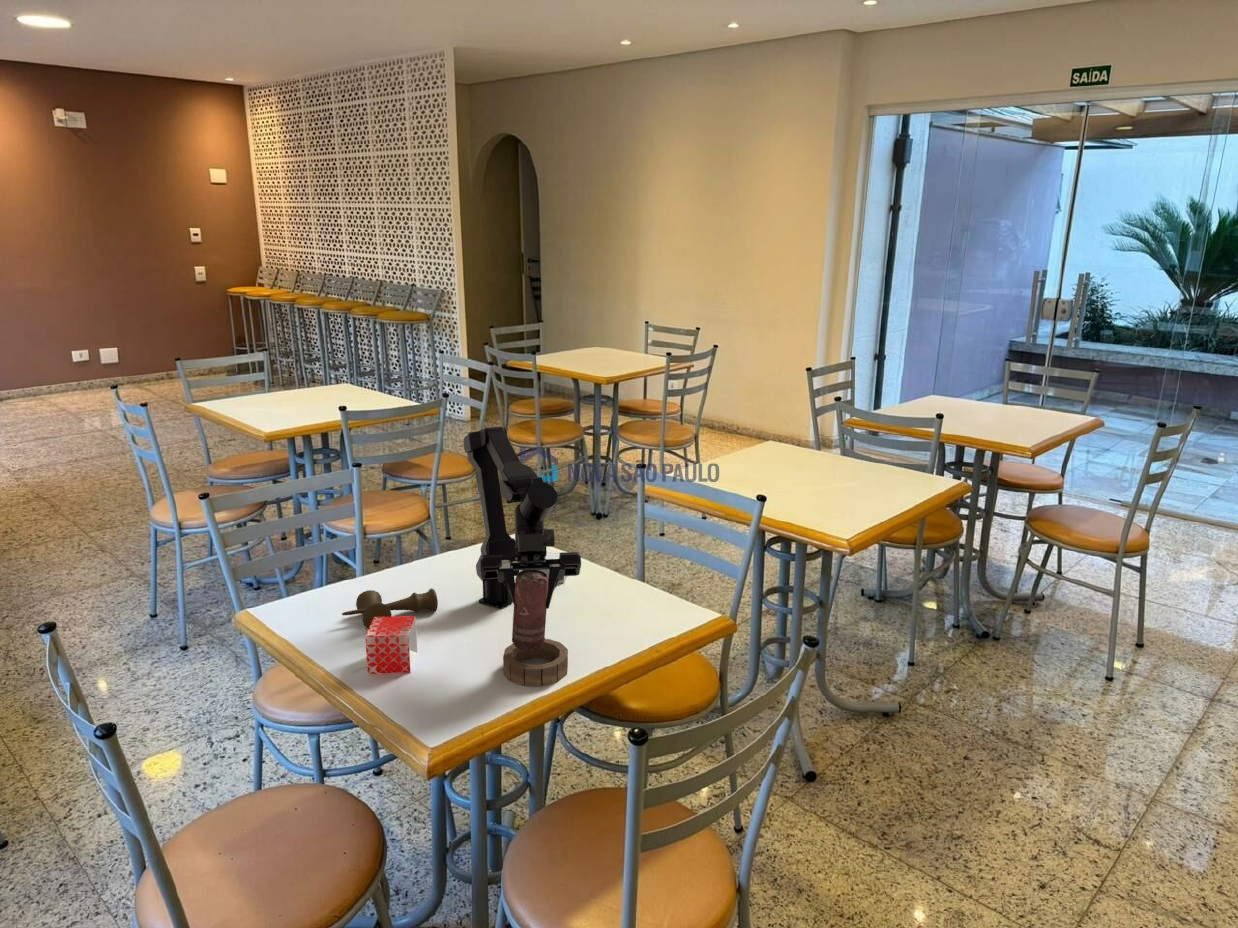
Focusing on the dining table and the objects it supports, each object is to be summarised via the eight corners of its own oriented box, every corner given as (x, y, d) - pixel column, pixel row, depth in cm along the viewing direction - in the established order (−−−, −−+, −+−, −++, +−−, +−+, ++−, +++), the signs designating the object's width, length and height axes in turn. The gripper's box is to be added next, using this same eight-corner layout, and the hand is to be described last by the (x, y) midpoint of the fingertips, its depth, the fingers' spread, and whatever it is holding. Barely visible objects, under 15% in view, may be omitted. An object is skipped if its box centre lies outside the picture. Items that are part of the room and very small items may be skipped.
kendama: (442, 620, 176) (346, 636, 167) (430, 604, 184) (338, 618, 175) (442, 594, 175) (345, 609, 166) (430, 579, 183) (337, 592, 174)
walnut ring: (491, 675, 153) (490, 658, 152) (528, 648, 163) (528, 632, 162) (544, 692, 148) (544, 675, 147) (579, 664, 158) (579, 647, 157)
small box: (570, 571, 202) (570, 552, 201) (564, 584, 195) (564, 564, 194) (539, 569, 203) (539, 550, 202) (532, 582, 196) (531, 562, 195)
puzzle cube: (376, 653, 161) (374, 616, 158) (417, 652, 161) (415, 616, 159) (367, 674, 153) (365, 635, 151) (410, 673, 153) (408, 635, 151)
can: (539, 653, 150) (544, 583, 147) (507, 647, 152) (510, 577, 148) (549, 639, 156) (554, 571, 152) (518, 633, 157) (522, 565, 154)
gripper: (479, 514, 150) (479, 595, 142) (580, 512, 152) (586, 591, 145) (481, 539, 159) (481, 616, 152) (576, 536, 162) (581, 611, 155)
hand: (532, 608), depth 151 cm, fingers closed on can, 5 cm apart
